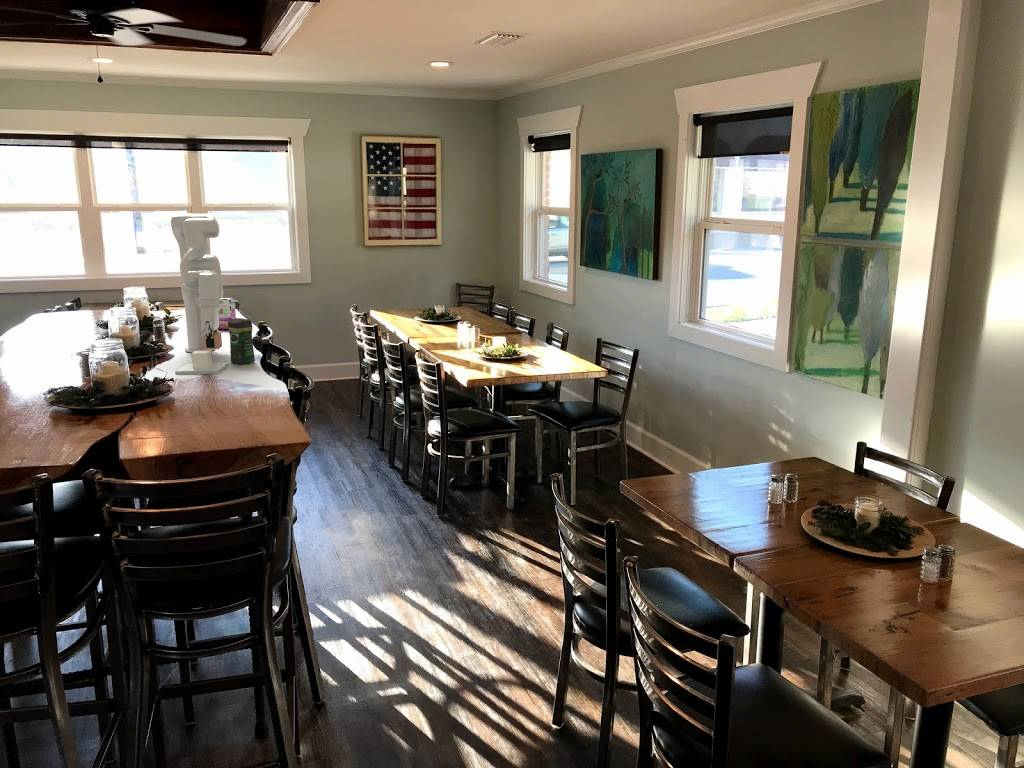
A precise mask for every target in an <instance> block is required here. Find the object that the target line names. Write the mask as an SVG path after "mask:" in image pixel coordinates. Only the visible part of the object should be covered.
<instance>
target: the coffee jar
mask: <svg viewBox="0 0 1024 768" xmlns="http://www.w3.org/2000/svg"><path fill="white" fill-rule="evenodd" d="M227 331H228V333H229V334H228V335H229V347H230V348H229V349H230V351H229V352H230V354H229V355H230V356H229V357H230V362H231V363H232V364H236V363H237V365H245V364H246V365H247V363H250V364H252V363H254V362H255V360H256V359H255V349H254V343H253V323H252V320H250V319H249V318H248V319H247V318H242V317H236V318H234V319H230V320H229V321H228V330H227ZM251 362H252V363H251Z"/></svg>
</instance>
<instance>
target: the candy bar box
mask: <svg viewBox="0 0 1024 768" xmlns="http://www.w3.org/2000/svg"><path fill="white" fill-rule="evenodd" d="M235 300H236V299H235V297H222V299H220V300H219V305H220V306H219V307H218V315H219V327H218V329H228V321H229V320H230V319H234V318H237V313H236V302H235Z"/></svg>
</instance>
